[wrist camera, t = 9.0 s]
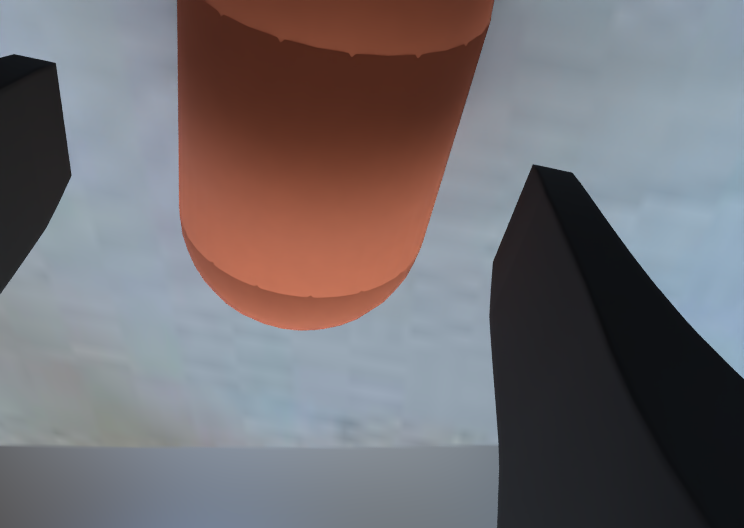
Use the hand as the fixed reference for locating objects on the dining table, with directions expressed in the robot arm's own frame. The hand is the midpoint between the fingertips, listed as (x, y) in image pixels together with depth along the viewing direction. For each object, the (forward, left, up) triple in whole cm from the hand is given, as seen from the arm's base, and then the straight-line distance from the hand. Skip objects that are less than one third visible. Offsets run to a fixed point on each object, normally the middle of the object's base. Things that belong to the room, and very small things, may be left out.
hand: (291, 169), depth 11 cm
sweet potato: (0, 0, -4) cm, 4 cm away
